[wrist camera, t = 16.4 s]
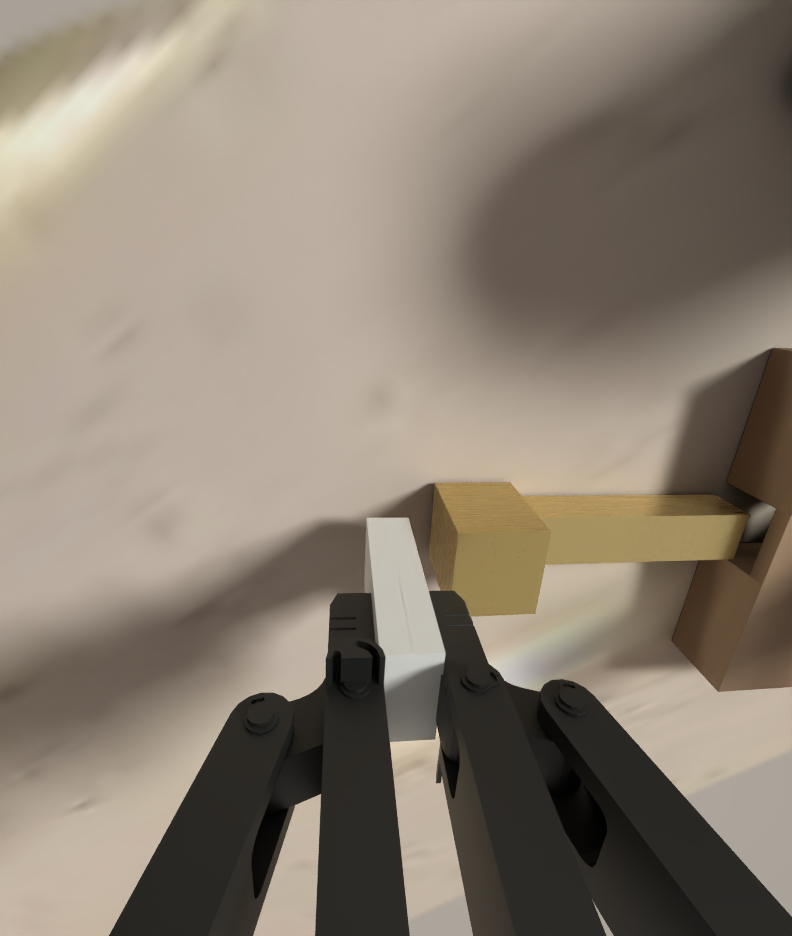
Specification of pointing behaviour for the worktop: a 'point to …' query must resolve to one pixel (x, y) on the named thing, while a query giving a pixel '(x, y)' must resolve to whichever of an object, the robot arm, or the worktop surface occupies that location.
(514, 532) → the lock pin
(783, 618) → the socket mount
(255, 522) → the worktop surface
